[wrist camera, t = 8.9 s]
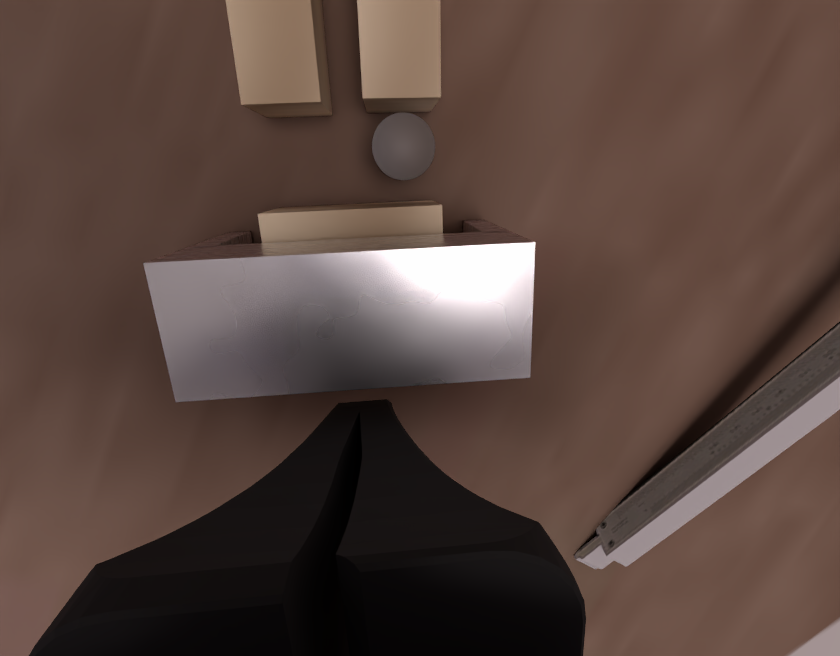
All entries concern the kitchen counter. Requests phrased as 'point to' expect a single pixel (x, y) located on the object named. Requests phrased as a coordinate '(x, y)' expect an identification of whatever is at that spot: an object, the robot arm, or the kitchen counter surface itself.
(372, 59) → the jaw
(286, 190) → the kitchen counter surface
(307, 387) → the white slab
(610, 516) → the caliper
